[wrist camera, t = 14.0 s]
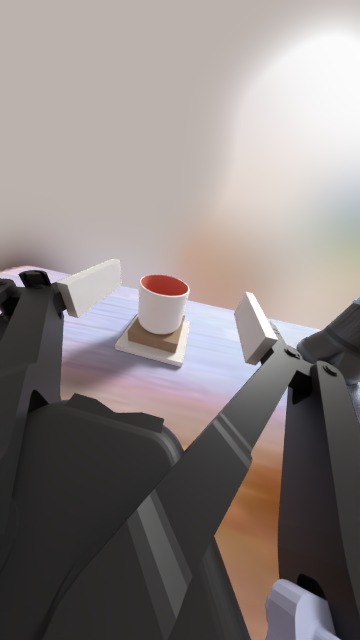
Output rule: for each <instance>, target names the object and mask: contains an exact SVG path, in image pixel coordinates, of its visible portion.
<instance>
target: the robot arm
mask: <svg viewBox="0 0 360 640" xmlns="http://www.w3.org/2000/svg"><path fill="white" fill-rule="evenodd" d="M18 275H19V276H20V278H21V280H22V282H23V284H24V286H25V287H17V286H16V285H15V283H14V281H13V280H11V279H1V278H0V310H1V312H2V313H1V314H0V640H251V638H250V636H249V633H248V630H247V627H246V624H245V622H244V619H243V616H242V613H241V610H240V607H239V605H238V602H237V599H236V596H235V593H234V591H233V588H232V585H231V582H230V579H229V577H228V574H227V571H226V568H225V565H224V562H223V560H222V557H221V554H220V551H219V548H218V546H217V543H216V540H215V537H214V535H215V533H216V531H217V529H218V527H219V525H220V523H221V521H222V520H223V518H224V516H225V514H226V512H227V510H228V508H229V506H230V504H231V502H232V500H233V499H234V497H235V495H236V493H237V491H238V489H239V487H240V485H241V483H242V481H243V479H244V478H245V476H246V474H247V472H248V470H249V468H250V465H251V463H252V457H251V451H252V449H253V447H254V445H255V444H256V442H257V440H258V438H259V436H260V435H261V433H262V431H263V429H264V428H265V426H266V424H267V422H268V420H269V419H270V417H271V415H272V413H273V411H274V410H275V408H276V406H277V404H278V402H279V401H280V399H281V397H282V395H283V394H284V392H285V390H286V388H287V386H288V396H287V410H286V423H285V437H284V451H283V465H282V479H281V492H280V506H279V520H278V563H279V578H280V580H278V581H276V582H275V584H274V585H273V587H272V589H271V593H270V594H269V595H268V597H267V599H266V605H265V608H266V618H267V622H268V631H267V636H266V640H360V426H359V423H358V420H357V417H356V414H355V410H354V407H353V404H352V401H351V398H350V395H349V392H348V389H347V386H346V385H354V384H356V383H358V382H360V297H359V298H358V299H357V300H355V301H353V304H351V305H350V306H349V307H348V308H347V309H346V310H345V311H344V312H343V313H342V314H341V315H339V316H338V317H337V318H336V319H335V320H334V321H332V322H331V323H330V324H329V325H328V326H327V327H326V328H325V329H324V330H322V331H320V332H317V333H315V334H313V335H311V336H309V337H306V338H304V339H303V340H301V341H300V342H299V343H298V345H297V348H298V351H299V352H298V351H297V350H296V349H294V348H293V347H291V346H288V345H286V343H285V341H284V340H283V338H282V336H281V335H280V333H279V331H278V330H277V328H276V326H275V325H274V324H273V323H272V322H271V321H268V320H267V318H266V317H265V315H264V313H263V311H262V309H261V307H260V305H259V304H258V302H257V300H256V298H255V296H254V295H253V294H252V293H248V292H245V294H244V296H243V298H242V300H241V301H240V303H239V305H238V307H237V309H236V311H235V313H234V316H235V320H236V325H237V329H238V333H239V337H240V342H241V346H242V350H243V355H244V359H245V363H248V364H252V365H257V363H258V362H259V361H260V362H261V364H262V366H261V367H260V368H259V369H258V370H257V371H256V372H255V373H254V374H253V375H252V377H251V378H250V379H249V380H248V381H247V382H246V383H245V384H244V386H243V387H242V388H241V389H240V390H239V391H238V392H237V393H236V394H235V396H234V397H233V398H232V399H231V400H230V401H229V402H228V403H227V405H226V406H225V407H224V408H223V409H222V410H221V411H220V412H219V413H218V415H217V416H216V417H215V418H214V419H213V420H212V421H211V422H210V424H209V425H208V426H207V427H206V428H205V429H204V430H203V431H202V432H201V434H200V435H199V436H198V437H197V438H196V439H195V440H194V441H193V442H192V443H191V445H190V446H189V447H188V448H187V449H186V450H185V451H184V450H183V448H182V446H181V444H180V442H179V441H178V439H177V438H176V436H175V435H174V434H173V433H172V432H171V431H170V430H169V429H168V428H167V427H165V426H164V425H163V422H164V419H163V418H159V417H156V416H153V415H149V414H146V413H142V412H140V413H115V412H113V411H112V410H111V409H109V408H108V407H106V406H105V405H103V404H102V403H101V402H99V401H98V400H96V399H93V398H90V397H86V396H83V395H79V394H76V393H74V395H73V396H72V397H71V399H70V400H62V401H61V397H60V380H61V361H62V342H63V323H64V315H63V312H62V311H64V310H66V309H67V312H68V314H69V316H73V317H77V318H79V317H80V316H81V315H83V314H84V313H85V312H87V311H88V310H89V309H91V308H92V307H93V306H95V305H96V304H97V303H99V302H100V301H101V300H103V299H104V298H105V297H107V296H108V295H109V294H111V293H112V292H113V291H115V290H116V289H117V288H119V287H120V286H121V285H122V279H121V265H120V260H118V259H110V260H108V261H105V262H103V263H101V264H98V265H96V266H93V267H91V268H89V269H86V270H84V271H82V272H79V273H76V274H74V275H71V276H69V277H67V278H64V279H62V280H59V281H57V282H55V283H52V284H51V283H50V280H49V278H48V275H47V273H46V272H44V271H40V270H29V271H24V272H21V273H20V274H18ZM302 357H303V358H304V359H305V360H306V361H305V360H303V359H302Z"/></svg>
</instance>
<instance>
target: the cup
mask: <svg viewBox="0 0 360 640" xmlns="http://www.w3.org/2000/svg"><path fill="white" fill-rule="evenodd" d="M189 290H190V289H189V287H188V285H187V284H186V283H184V282H183V281H182V280H180V279H177V278H175V277H172V276H167V275H161V274H160V275H159V274H153V275H147V276H144V277H142V278H141V279H140V281H139V310H138V319H139V322H140V324H141V326H142V327H143V328H144V329H146V330H147V331H149V332H151V333H154V334H169V333H172V332H174V331H176V330H177V329H178V328H179V326H180V324H181V321H182V317H183V313H184V310H185V306H186V302H187V298H188V295H189Z"/></svg>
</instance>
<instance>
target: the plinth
mask: <svg viewBox="0 0 360 640" xmlns="http://www.w3.org/2000/svg"><path fill="white" fill-rule="evenodd" d="M184 318H185V316H184V315H183V317H182V321H181V324H180V326H179V328H178V329H177V330H176V331H174V332H172V333H169V334H154V333H151V332H149V331H147V330H146V329H144V328H143V327H142V326H141V324H140V322H139V319H138V314H137V316H136V317H135V318H134V320H133V321H132V322H131V324H130V325H129V326H128V328H127V329H126V330H125V332H124V333H123V334H122V336H121V337H120V338H119V340H118V341H117V342H116V344H115V349H116V350H120V351H123V352H127V353H131V354H134V355H138V356H142V357H146V358H149V359H153V360H157V361H160V362H164V363H168V364H171V365H175V366H179V367H181V366H182V364H183V358H184V353H185V347H186V342H187V336H188V331H189V325H190V322H189V321H185V320H184Z"/></svg>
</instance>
